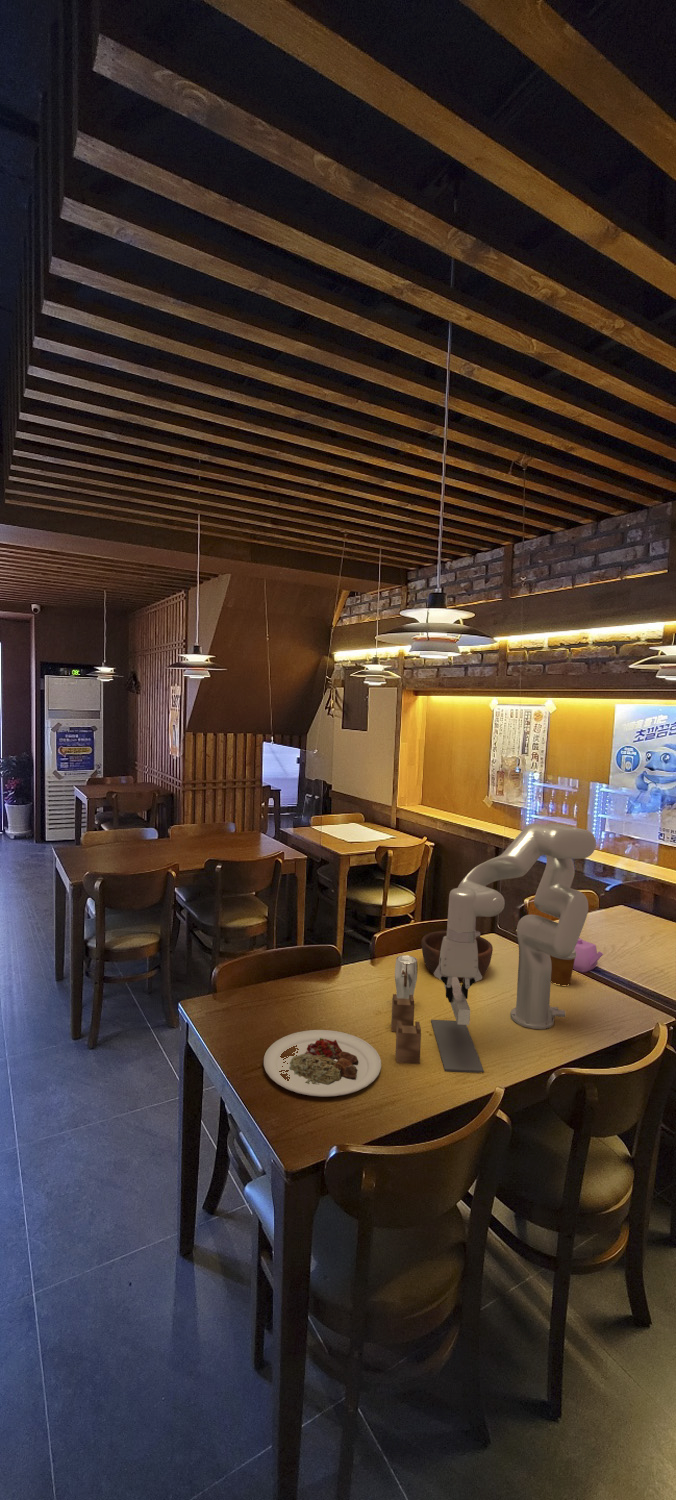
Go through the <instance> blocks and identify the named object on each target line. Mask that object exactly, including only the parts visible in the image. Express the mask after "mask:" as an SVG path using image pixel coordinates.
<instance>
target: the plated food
mask: <svg viewBox="0 0 676 1500" xmlns="http://www.w3.org/2000/svg"><path fill="white" fill-rule="evenodd" d="M296 1045H297V1047H295V1048H298V1049H299V1050H297V1049H296V1051H295V1052H293V1053H295V1055H294V1056H289V1057H288V1056H287V1057H288V1058H286V1057H284V1058H286V1059H284V1058H281V1057H280V1056H281V1054H282V1053H283V1052H284V1051H286V1050H287V1049H289V1048H291V1047H293V1046H296ZM297 1051H298V1053H296V1052H297ZM293 1053H292V1054H293ZM296 1055H297V1056H296ZM283 1059H284V1060H283ZM285 1061H286V1062H285ZM283 1062H285V1063H283ZM287 1063H288V1064H287ZM282 1066H283V1067H282ZM263 1067H264V1071H265V1073H266V1074H267V1076H268V1077H269V1078H270V1079H271V1080H272V1081H273V1082H275V1083H276V1084H277V1085H279V1086H281V1087H282V1088H284V1089H286V1090H288V1091H291V1092H295V1093H296V1094H300V1095H301V1094H302V1095H305V1096H306V1095H307V1096H311V1097H337V1096H345V1095H349V1094H352V1093H356V1092H358V1091H360V1090H362V1089H364V1088H366V1087H368V1086H370V1085H371V1084H372V1083H373V1082H375V1080H376V1079H377V1078H378V1076H379V1075H380V1072H381V1070H382V1059H381V1057H380V1055H379V1053H378V1051H377V1050H376V1048H375V1047H374V1046H372V1045H371V1044H370V1043H369V1042H367V1041H365V1040H364V1039H362V1038H360V1037H358V1036H356V1035H352V1034H350V1033H346V1032H343V1031H342V1032H341V1031H336V1030H329V1029H328V1030H326V1029H311V1030H310V1029H309V1030H303V1031H297V1032H293V1033H291V1034H288V1035H285V1036H283V1037H281V1038H279V1039H277V1040H276V1041H274V1042H273V1043H272V1044H271V1045H269V1047H268V1048H267V1050H266V1052H265V1054H264V1056H263ZM281 1070H285V1071H286V1070H289V1071H288V1072H285V1071H282V1072H279V1071H281ZM283 1072H284V1073H283ZM281 1073H282V1074H286V1073H287V1074H288V1075H287V1076H288V1077H290V1079H289V1078H288V1079H289V1081H287V1079H286V1080H285V1079H284V1078H283V1077H282V1076H281V1075H280V1074H281ZM289 1075H290V1076H289ZM287 1076H286V1077H287Z"/></svg>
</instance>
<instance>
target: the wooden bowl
mask: <svg viewBox="0 0 676 1500" xmlns="http://www.w3.org/2000/svg"><path fill="white" fill-rule="evenodd" d="M444 936H447V930H439V931H438V930H437V931H433V932H428V933H427V934H425V935H424V936H423V937H422V939H421V952H422V958H423V962H424V963H425V967H426V969H427V970H428V971H429V972H430V973H431V974H433V975H434V972H435V970H436V968H437V967H438V965H439V958H440V951H441V945H442V941H443V938H444ZM475 939H476V941H477V948H478V969H479V971H480V973H481V976H482V977H484V975H485V974H486V973H487V971H488V969H489V967H490V964H491V960H492V955H493V951H494V950H493V949H494V948H493V945H492V943H491V942H490V941H489V940H487V939H486V938H484V937H482V936H480V937H476V938H475ZM457 978H458V980H459V982H463V978H461V977H457Z"/></svg>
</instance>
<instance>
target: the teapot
mask: <svg viewBox="0 0 676 1500" xmlns="http://www.w3.org/2000/svg"><path fill="white" fill-rule="evenodd" d="M575 951H576V954H577V956H576V958H575V961H574V966H573V969H574V970H573V971H576V972H579V973H582V974H583V973H588V972H590V971H593V970H594V968H595V966H596V965H597V966H598V961H599V960H600V959H601V957H602V956H603V955H604V953H603V952H601V951H597V945H596V944H595V943H591V942H589V941H586V940H583V938H581V937H579V939H578V942H577V944H576V947H575ZM597 966H596V967H597ZM595 969H596V968H595Z"/></svg>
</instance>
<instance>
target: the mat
mask: <svg viewBox="0 0 676 1500" xmlns="http://www.w3.org/2000/svg"><path fill="white" fill-rule="evenodd" d="M430 1022H431V1026H432V1030H433V1033H434V1034H433V1035H434V1038H435V1041H436V1045H437V1048H438V1052H439V1056H440V1059H441V1063H442V1066H443V1070H444V1072H449V1073H450V1072H452V1073H453V1072H455V1073H475V1074H476V1073H477V1074H479V1072H484V1073H485V1070H484V1067H483V1064H482V1062H481V1059H480V1056H479V1053H478V1052H477V1049H476V1047H475V1043H474V1041H473V1039H472V1036H471V1034H470V1031H469V1028H468V1025H460V1024H457V1021H456V1020H450V1019H449V1020H447V1019H431V1020H430Z"/></svg>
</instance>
